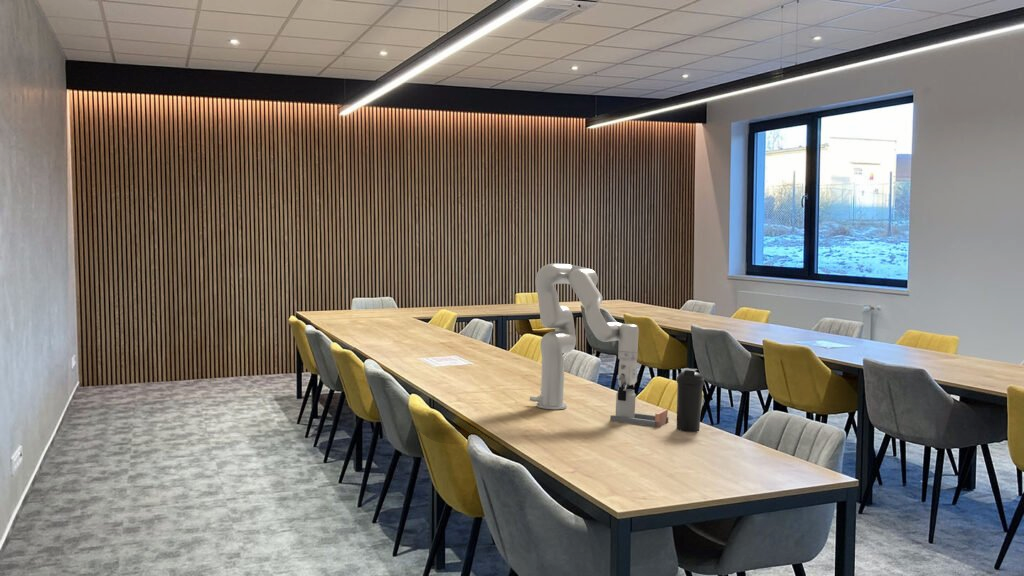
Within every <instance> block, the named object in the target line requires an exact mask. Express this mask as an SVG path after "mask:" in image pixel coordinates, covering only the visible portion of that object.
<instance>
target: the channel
mask: <svg viewBox="0 0 1024 576" xmlns="http://www.w3.org/2000/svg"><path fill="white" fill-rule="evenodd" d="M654 414H655V415H653V414H646V413H639V412H638V413H637V412H635V418H629V417H622V416H616V415H615V414H614V415H609V416H610V419H609V421H611V422H618V423H624V424H632V425H640V426H648V427H654V428H661V427H662V426H663V425H665V424H666V422H668V423H669V418H670V417H669V416H668V409H667V408H666V409H665V408H663V409H662V410H661V409H660V411H658V412H656V413H654ZM664 423H665V424H664Z"/></svg>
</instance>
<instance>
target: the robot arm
mask: <svg viewBox="0 0 1024 576" xmlns="http://www.w3.org/2000/svg"><path fill="white" fill-rule="evenodd" d="M598 282H599V277H598V274H597V272H596V271H595V270H593V269H591V268H589V267H588V268H587V267H583V266H579V265H576V264H575V265H574V264H570V263H548V264H545V265H544V266H542V267H540V269H539V270H538V271H537V273H536V276H535V288H536V293H537V298H538V299H537V301H538V302H537V303H538V310H539V317H540V322H541V325H542V326H543V328H545V329H554V331H549V332H547V333H545V334H544V335H543V336H542V337H541V339H540V345H539V346H540V354H541V379H540V381H541V382H540V394H539V395H537V396H529V401H530V402H535V403H536V402H537V403H536V407H537V408H540V409H544V410H554V411H555V410H564V409H567V407H568V406H567V404H566V403H564V391H565V390H564V389H565V359H564V355H563V354H567V353H568V354H569V353H571V352H572V351H573V350H574V349H575V348H576V344H577V337H576V335H577V334H576V329H575V321H574V315H573V313H572V311H571V309H570V308H569V307H567V306H566V305H563V304H560V299H559V293H558V290H557V289H556V287H555V285H565V284H566V285H569V286H570V287H571V289H572V290H573V292H574V294H575V295H576V296H577V298H578V299H579V301H580V303H581V304H582V306H583V308H584V315H585V316H584V317H585V321H586V324H587V325H588V327H589V329H590V331H591V332H592V334H593V335H594V337H595V338H596V339H597V340H599V341H601V342H603V343H607V342H615V341H616V342H617V341H618V349H617V350H618V352H617V354H618V355H617V359H618V360H619V362H618V373H617V374H618V375H617V392H618V400H621V401H626V391H625V390H626V389H632V390H634V391H635V386H636V385H635V384H636V383H637V382H638V364H637V363H638V362H637V361H638V354H639V353H638V350H639V349H638V348H639V345H638V344H639V334H640V333H639V330H640V329H639V326H638V325H637V324H633V323H622V322H618V321H608V322H607V321H606V319H605V317H604V316H603V314H602V312H601V309H600V306H601V305H600V304H601V303H602V302H603V299H604V298H603V295H602V294H601V292H600V290H599V289H598V288H597V285H598Z"/></svg>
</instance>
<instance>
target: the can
mask: <svg viewBox="0 0 1024 576" xmlns="http://www.w3.org/2000/svg"><path fill="white" fill-rule="evenodd" d="M625 391H626V401H621V400H618V391H617V392H616V397H615V416H622V417H629V418H635V413H636V397H637V396H636V393H635V389H634V390H632V389H626V390H625Z"/></svg>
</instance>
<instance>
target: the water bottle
mask: <svg viewBox="0 0 1024 576" xmlns="http://www.w3.org/2000/svg"><path fill="white" fill-rule="evenodd" d="M698 370H699V368H698V369H697V368H689V367H687V368H685V369H684V371H681V372H680V373H679V374H678V375H677V376H676V384H677V385H676V386H677V387H676V388H677V389H676V391H677V392H676V393H677V394H676V396H677V397H676V430H678V431H681V432H685V433H697V431H698V432H699V431H700V427H701V426H700V425H701V412H702V404H703V403H702V402H703V401H702V400H703V399H702V398H703V389H704V387H703V386H704V384H705V378H704V376H703V374H701V373H700V372H697V371H698Z"/></svg>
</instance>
